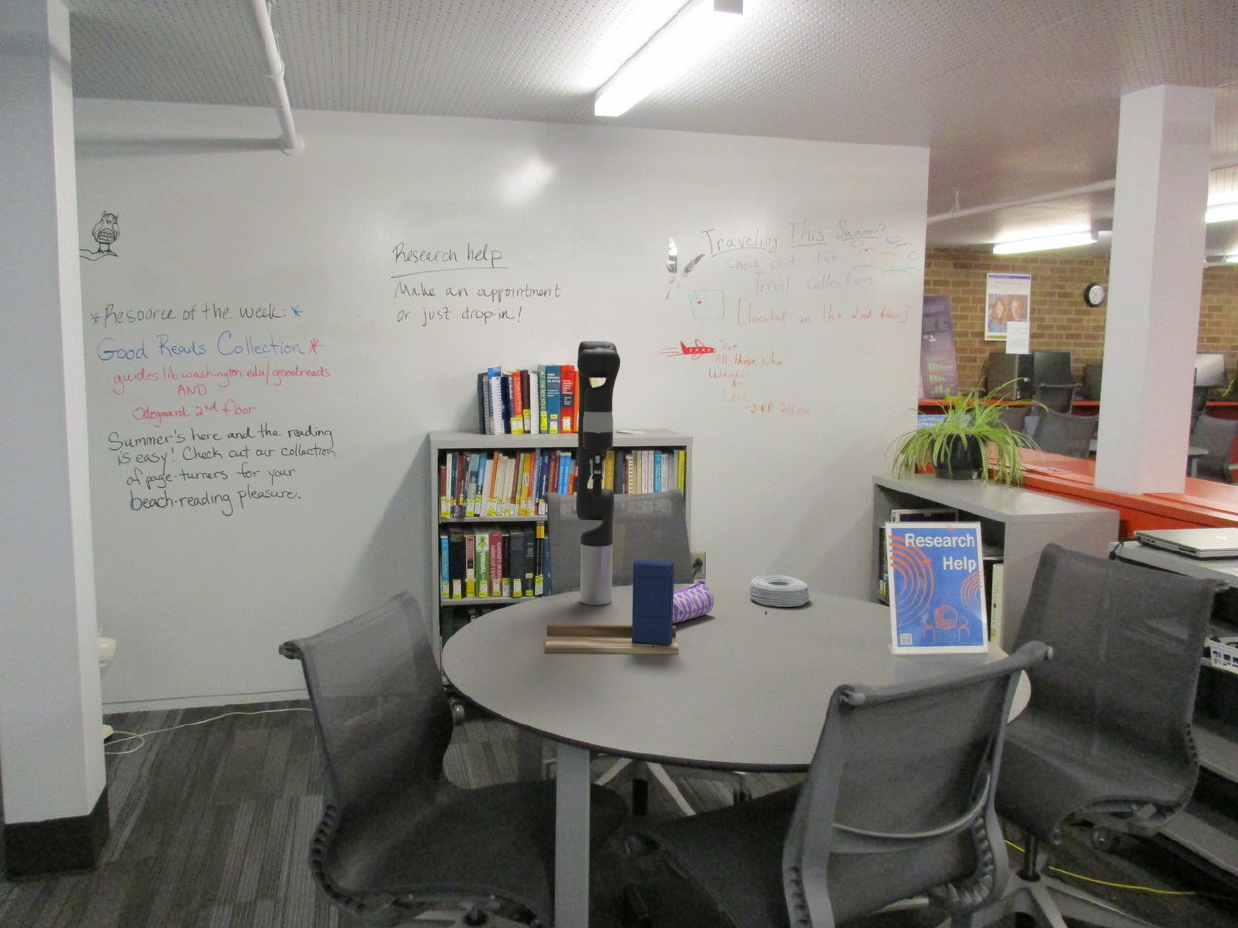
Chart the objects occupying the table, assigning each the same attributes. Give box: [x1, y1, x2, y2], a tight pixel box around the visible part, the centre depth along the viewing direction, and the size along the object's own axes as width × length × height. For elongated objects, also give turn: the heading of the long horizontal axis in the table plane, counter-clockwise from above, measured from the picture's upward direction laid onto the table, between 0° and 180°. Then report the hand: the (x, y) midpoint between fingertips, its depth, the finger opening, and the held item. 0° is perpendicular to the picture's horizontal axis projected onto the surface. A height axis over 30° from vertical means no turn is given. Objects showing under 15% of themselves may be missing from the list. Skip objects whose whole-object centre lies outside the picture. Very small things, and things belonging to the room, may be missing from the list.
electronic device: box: [631, 558, 675, 646], centre depth 212 cm, size 10×5×20 cm, turn 78°
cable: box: [749, 574, 810, 608], centre depth 259 cm, size 18×18×6 cm
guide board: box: [544, 624, 680, 655], centre depth 213 cm, size 10×32×4 cm, turn 91°
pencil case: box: [673, 580, 715, 624], centre depth 237 cm, size 22×9×10 cm, turn 139°
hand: (597, 493), depth 221 cm, fingers open, 8 cm apart
